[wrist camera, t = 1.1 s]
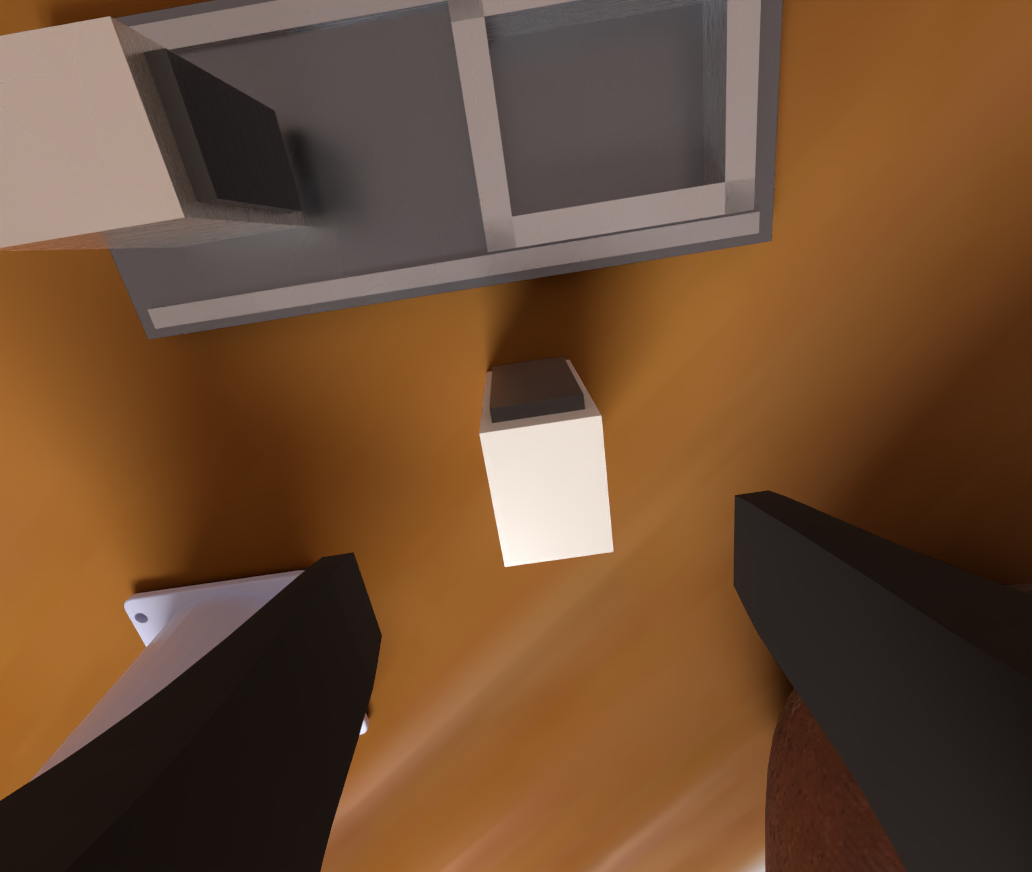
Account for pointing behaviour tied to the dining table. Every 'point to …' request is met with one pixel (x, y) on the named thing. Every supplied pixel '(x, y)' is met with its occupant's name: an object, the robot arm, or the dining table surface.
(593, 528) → the block
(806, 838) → the pottery
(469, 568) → the dining table surface
